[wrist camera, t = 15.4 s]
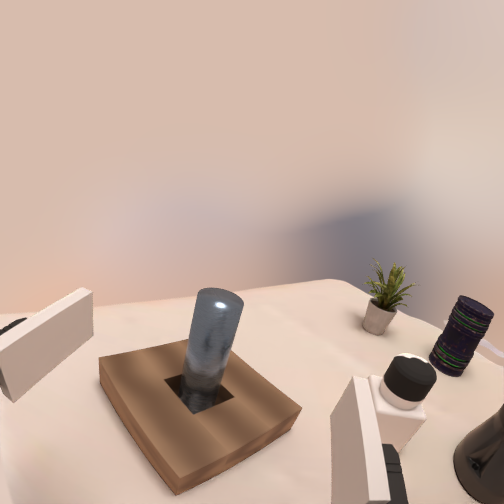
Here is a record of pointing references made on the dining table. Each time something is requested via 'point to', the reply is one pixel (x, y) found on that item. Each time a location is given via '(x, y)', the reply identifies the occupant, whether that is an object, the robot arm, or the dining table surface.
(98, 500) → the dining table surface
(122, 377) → the socket block
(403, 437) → the medicine bottle
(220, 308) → the pin
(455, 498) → the dining table surface
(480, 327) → the storage jar
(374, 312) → the house plant
